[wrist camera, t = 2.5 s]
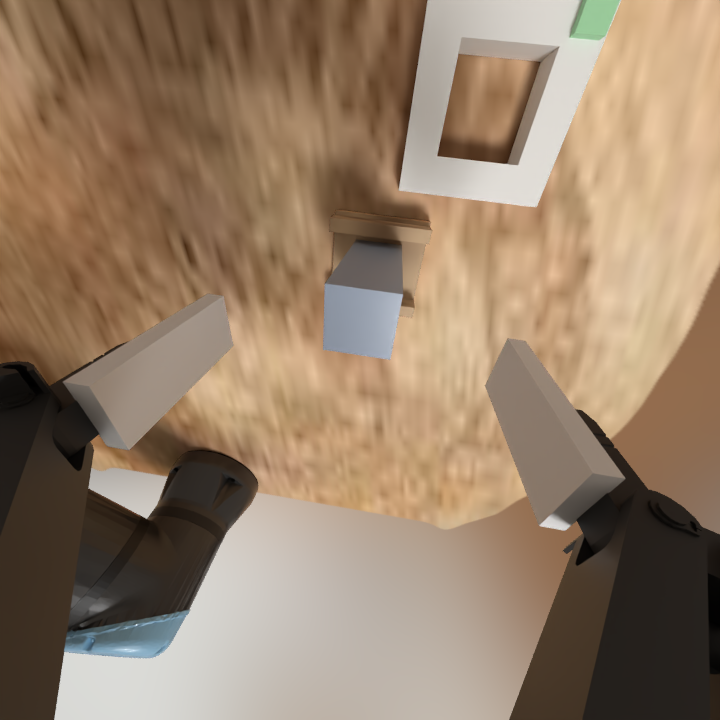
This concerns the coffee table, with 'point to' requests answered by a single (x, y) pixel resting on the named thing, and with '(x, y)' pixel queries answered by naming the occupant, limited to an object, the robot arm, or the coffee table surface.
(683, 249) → the coffee table surface
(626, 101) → the coffee table surface
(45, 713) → the robot arm
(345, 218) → the wooden rail base
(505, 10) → the port
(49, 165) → the coffee table surface
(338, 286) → the plug
